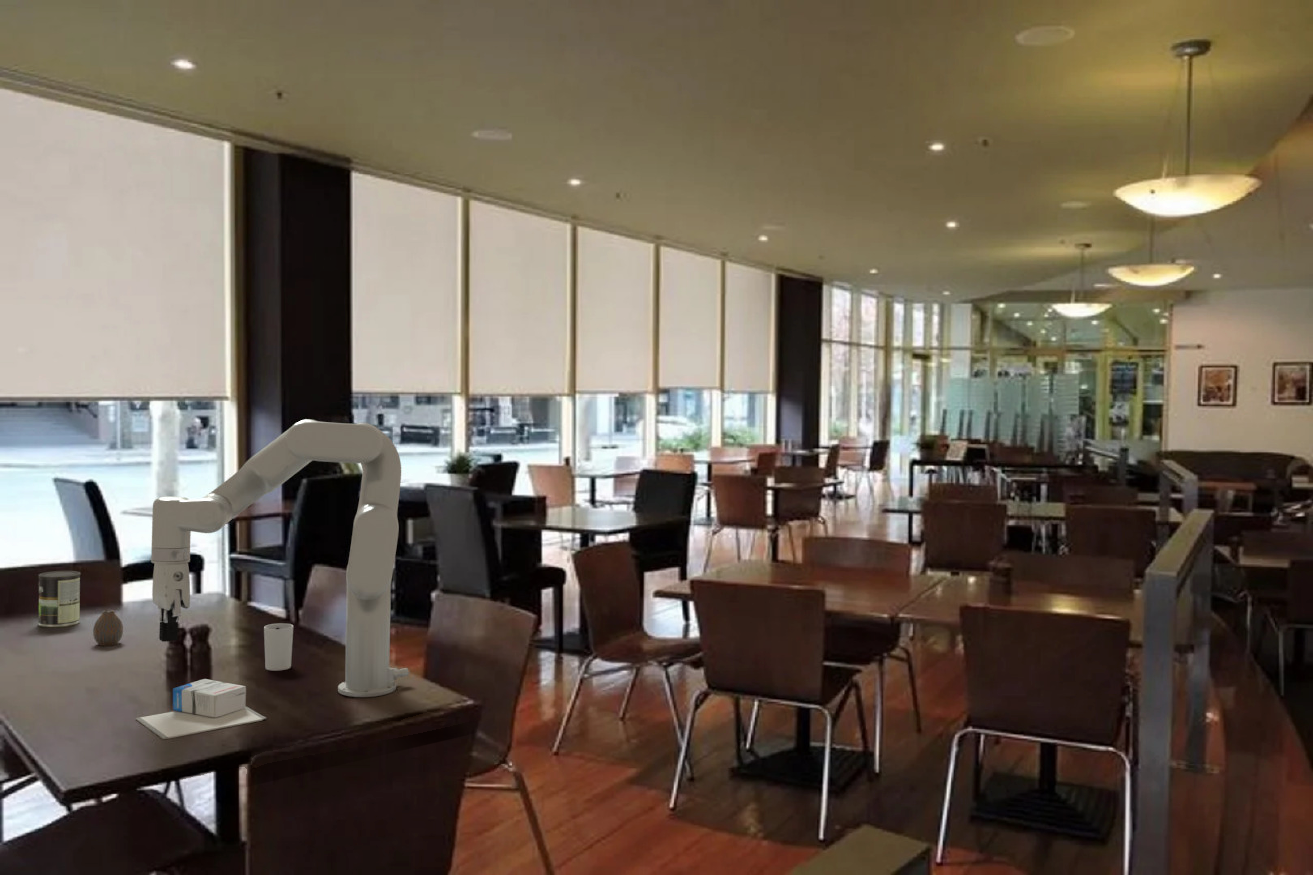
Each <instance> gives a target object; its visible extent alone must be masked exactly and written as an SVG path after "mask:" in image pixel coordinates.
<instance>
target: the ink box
mask: <svg viewBox="0 0 1313 875" xmlns="http://www.w3.org/2000/svg"><path fill="white" fill-rule="evenodd" d="M246 695H247V686H246V685H240V684H236V683H230V682H225V681H219V680H218V681H217V680H212V679H207V678H203V679H199V680H197V681H192V682H190V683H186V684H184V685H180V686H177V687H174V688H173V689H172V710H173V711H181V712H187V713H192V714H197V715H203V716H208V717H213V718H216V717H219V716H222V715H226V714H229V713H232V712H235V711H238V710H241V709H244V708H245V706H246V697H247V696H246Z"/></svg>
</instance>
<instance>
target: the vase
mask: <svg viewBox="0 0 1313 875" xmlns="http://www.w3.org/2000/svg"><path fill="white" fill-rule="evenodd" d="M92 630H93V631H92V632H93V633H92V635H93V638H94V640H95V642H96V644H98V646H102V647H109V646H114V645H117V644H118V643H120V640H122V637H123V635H124V625H123V622H122V620H121V618H120V617H119V616H118V615H117V614H116V613H115V611H114V609H107V610H106V609H105V610H103V611H102V613H101V614H100V616H99V617H98V619H97V620H96V621H95V623H94V626H93V629H92Z"/></svg>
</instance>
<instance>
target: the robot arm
mask: <svg viewBox="0 0 1313 875" xmlns="http://www.w3.org/2000/svg"><path fill="white" fill-rule="evenodd" d="M313 461H316V462H324V463H325V462H326V463H327V462H328V463H329V462H330V463H347V464H360V465H361V470H362V476H361V482H360V493H359V501H358V506H357V511H356V514H355V516H354V519H353V525H352V526H353V527H352V535H351V543H350V549H349V550H350V551H349V557H348V562H347V563H348V564H347V566H346V573H345V576H346V577H345V579H346V604H345V605H346V608H345V609H346V618H345V667H344V668H345V673H344V674H345V678H344V679H345V681H343V682H341V683H339V684H338V686H337V692H338V693H339V694H341V695H343V696H347V697H350V698H351V697H353V698H373V697H378V696H379V697H380V696H384V695H388V694H391V693H392V692H394V691H395V690H397V683H396V682H395V681H396V680H397V679H398V678H405V677H408V676H409V674H410V671H409V668H407V667H404V668H399V669H398V668H397V667H390V647H391V646H390V645H391V644H390V643H391V642H390V639H391V638H390V637H391V633H390V632H391V628H390V627H391V588H392V587H391V584H392V579H393V573H394V566H395V560H396V552H397V547H398V546H397V545H398V541H399V540H398V539H399V528H400V527H399V525H400V524H399V520H398V508H399V502H400V501H399V500H400V494H401V493H400V491H401V484H402V483H401V480H402V462H401V458H400V454H399V452H398V449H397V447H396V446H395V444H394V442H393V441H392V440H391V439H390V437H389V436H388V435H387V434H386V433H384V432H383V431H382V430H381V429H379V428H378V427H376V426H375V425H374V424H371V423H368V422H357V423H344V422H342V423H341V422H329V421H328V422H327V421H318V420H316V419H309V418H308V419H307V418H305V419H302V420H300V421H298V422H295V423H294V424H292V426H290V427H289V428H288V429H287V430H286V431H284V432H282V434H280V435H279V436H278V437H277V438H275V439H274V440H272V441H271V442H269V443H268V445H266V446H264V448H262V449H261V450H259V451H258V452H257V453H255V454H253V455H252V456H251V457H250V458H249V459H248V460H247V461H245V463H244V464H243V465H242V467H240V469H239V470H237V471H236V472H235V473H234V474H233V475H231V477H229V478H227V480H225V481H223V483H221V484H220V485H218V486H217V487H216V488H215V489H213V490H212V491H211V492H209V493H208V494H206V495H205V496H203V497H202V498H198V499H189V498H187V497H183V496H161V497H160V496H159V497H157V498H155V499H154V500H153V503H152V515H151V516H152V519H151V520H152V522H151V523H152V526H151V551H150V552H151V554H150V556H151V557H150V558H151V559H150V562H151V563H152V564H154V566H153V572H152V573H153V574H152V588H151V589H152V591H151V593H152V594H151V595H152V597H151V598H152V602H153V604H154V605H156V606H157V609H158V612H159V614H158V615H159V641H161V642H163V643H164V642H165V643H167V642H172V641H177V640H178V636H179V634H178V632H179V629H178V628H179V618H180V617H181V616H182V608H183V609H186V610H187V609H189V608H190V606H191V584H190V583H191V582H190V580H191V579H190V578H191V577H190V569H189V563H190V562H191V532H195V533H201V534H213V533H217V532H219V531H220V530H221V529H223V528H224V527H225V526H226V525H227V524H228V523H229V522H230V521H231V520H232V519H234V518H236V517H237V516H238V515H239V514H240V513H242V512H244V510H246V509H247V508H248V507H249V506H251V505H252V504H253V503H255V502H256V501H257V500H259V499H260V498H262V497H263V496H266V495H267V494H269V493H271V492H273V491H275V490H276V489H277V488H279V487H280V486H281V485H283V484H285V482H287V481H288V480H289V479H290V478H292V477H293V476H294V475H295V474H297V473H298V472H300V471H301V470H302V469H303V468H304V467H306V466H307V465H309V463H312V462H313Z"/></svg>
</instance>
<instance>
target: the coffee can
mask: <svg viewBox="0 0 1313 875" xmlns="http://www.w3.org/2000/svg"><path fill="white" fill-rule="evenodd" d="M80 580H81V572H80V571H77V570H76V571H75V570H56V571H55V570H53V571H45V572H41V573H39V574H38V626H39V627H43V628H61V627H69V626H75V625H78V624H80V622H81V620H80V617H81V616H80V615H81V614H80V605H81V604H80V596H81V594H80V592H81V581H80Z"/></svg>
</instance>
